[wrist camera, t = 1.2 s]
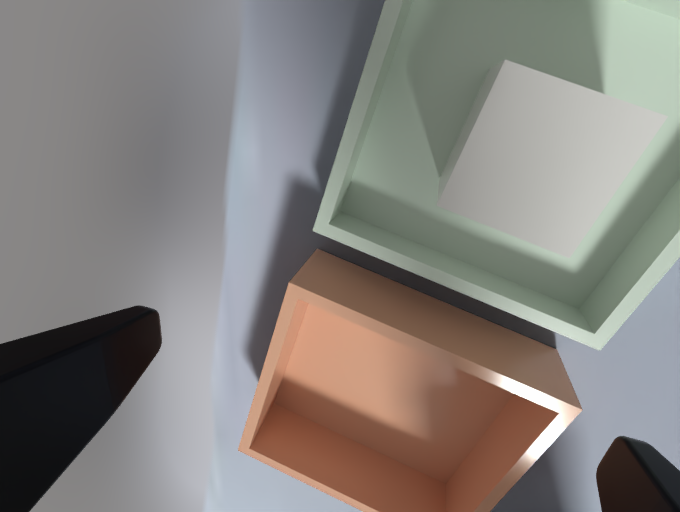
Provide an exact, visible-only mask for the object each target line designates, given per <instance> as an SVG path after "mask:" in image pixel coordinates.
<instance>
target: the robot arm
mask: <svg viewBox="0 0 680 512" xmlns="http://www.w3.org/2000/svg"><path fill="white" fill-rule="evenodd" d="M161 344H162V336H161V326H160V318H159V313H158V312H157V311H156V310H155V309H152V308H148V307H145V306H134V307H131V308H127V309H123V310H120V311H116V312H112V313H109V314H106V315H102V316H98V317H95V318H91V319H88V320H84V321H80V322H77V323H73V324H70V325H66V326H63V327H59V328H56V329H52V330H48V331H45V332H41V333H38V334H35V335H31V336H27V337H24V338H20V339H17V340H13V341H9V342H6V343H3V344H0V512H29V511H30V510H31V509H32V508H33V507H34V506H35V505H36V503H37V502H38V501H39V500H40V498H42V497H43V495H44V494H45V493H46V492H47V491H48V489H49V488H50V487H51V486H52V485H53V484H54V483H55V481H56V480H57V479H58V478H59V477H60V476H61V474H62V473H63V472H64V471H65V470H66V469H67V467H68V466H69V465H70V464H71V463H72V462H73V460H74V459H75V458H76V457H77V456H78V455H79V454H80V452H81V451H82V450H83V449H84V448H85V447H86V445H87V444H88V443H89V442H90V441H91V440H92V438H93V437H94V436H95V435H96V434H97V433H98V431H99V430H100V429H101V428H102V427H103V426H104V425H105V423H106V422H107V421H108V420H109V419H110V417H111V416H112V415H113V414H114V412H115V411H116V410H117V409H118V407H119V406H120V405H121V403H122V402H123V400H124V399H125V398H126V396H127V395H128V394H129V392H130V391H131V389H132V388H133V387H134V385H135V384H136V382H137V381H138V380H139V378H140V377H141V375H142V374H143V373H144V371H145V370H146V368H147V367H148V366H149V364H150V363H151V361H152V360H153V358H154V357H155V356H156V354H157V353H158V351H159V349H160V347H161ZM596 479H597V486H598V492H599V497H600V503H601V509H602V512H680V471H679V470H678V469H677V468H676V467H675V466H674V465H673V464H671V463H670V462H669V461H668V460H667V459H666V458H665V457H664V456H662V455H661V454H660V453H659V452H658V451H657V450H656V449H655V448H653V447H652V446H651V445H650V444H648V443H646V442H644V441H640V440H637V439H633V438H629V437H625V436H619V437H617V438H616V439H615V440H614V441H613V443H612V444H611V446H610V447H609V449H608V451H607V452H606V454H605V455H604V457H603V459H602V460H601V462H600V463H599V465H598V468H597V473H596Z"/></svg>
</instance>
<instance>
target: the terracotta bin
mask: <svg viewBox="0 0 680 512" xmlns="http://www.w3.org/2000/svg"><path fill="white" fill-rule="evenodd" d="M581 411H582V407H581V405H580V403H579V400H578V398H577V396H576V393H575V391H574V389H573V386H572V384H571V382H570V379H569V377H568V375H567V372H566V370H565V368H564V365H563V363H562V361H561V358H560V356H559V353H558V351H557V349H554V348H552V347H550V346H547V345H545V344H543V343H540V342H538V341H535V340H533V339H531V338H528V337H526V336H524V335H521V334H519V333H516V332H514V331H512V330H509V329H507V328H505V327H502V326H500V325H497V324H495V323H493V322H490V321H488V320H486V319H483V318H481V317H479V316H476V315H474V314H471V313H469V312H467V311H464V310H462V309H460V308H457V307H455V306H452V305H450V304H448V303H445V302H443V301H441V300H438V299H436V298H433V297H431V296H429V295H426V294H424V293H422V292H419V291H417V290H414V289H412V288H410V287H407V286H405V285H403V284H400V283H398V282H395V281H393V280H391V279H388V278H386V277H384V276H381V275H379V274H377V273H374V272H372V271H369V270H367V269H365V268H362V267H360V266H358V265H355V264H353V263H350V262H348V261H346V260H343V259H341V258H339V257H336V256H334V255H331V254H329V253H327V252H324V251H322V250H320V249H316V251H315V252H314V253H313V254H312V255H311V256H310V258H309V259H308V260H307V261H306V262H305V264H304V265H303V266H302V267H301V268H300V270H299V271H298V272H297V273H296V274H295V275H294V277H293V278H292V279H291V280H290V281H289V283H288V287H287V290H286V293H285V296H284V300H283V303H282V306H281V310H280V313H279V316H278V320H277V323H276V326H275V329H274V333H273V336H272V339H271V343H270V346H269V349H268V352H267V356H266V359H265V362H264V366H263V369H262V372H261V376H260V379H259V382H258V385H257V389H256V392H255V395H254V399H253V402H252V405H251V408H250V412H249V415H248V418H247V422H246V425H245V428H244V432H243V435H242V438H241V441H240V445H239V448H238V451H240V452H242V453H244V454H246V455H249V456H251V457H253V458H255V459H257V460H259V461H261V462H263V463H265V464H267V465H269V466H271V467H273V468H275V469H277V470H279V471H281V472H283V473H285V474H287V475H289V476H291V477H294V478H296V479H298V480H300V481H302V482H304V483H306V484H308V485H310V486H312V487H314V488H316V489H318V490H320V491H322V492H324V493H326V494H328V495H330V496H332V497H334V498H337V499H339V500H341V501H343V502H345V503H347V504H349V505H351V506H353V507H355V508H357V509H359V510H361V511H363V512H490V511H491V510H492V509H493V508H494V507H495V505H496V504H497V503H498V502H499V501H500V500H501V499H502V498H503V497H504V496H505V495H506V493H507V492H508V491H509V490H510V489H511V488H512V487H513V486H514V485H515V484H516V482H517V481H518V480H519V479H520V478H521V477H522V476H523V475H524V474H525V473H526V471H527V470H528V469H529V468H530V467H531V466H532V465H533V464H534V463H535V462H536V460H537V459H538V458H539V457H540V456H541V455H542V454H543V453H544V452H545V451H546V449H547V448H548V447H549V446H550V445H551V444H552V443H553V442H554V441H555V440H556V438H557V437H558V436H559V435H560V434H561V433H562V432H563V431H564V430H565V429H566V428H567V426H568V425H569V424H570V423H571V422H572V421H573V420H574V419H575V418H576V417H577V415H578V414H579V413H580V412H581Z"/></svg>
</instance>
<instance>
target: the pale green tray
mask: <svg viewBox="0 0 680 512" xmlns="http://www.w3.org/2000/svg"><path fill="white" fill-rule="evenodd" d="M505 59H506V60H509V61H512V62H514V63H517V64H520V65H523V66H526V67H529V68H532V69H534V70H537V71H540V72H543V73H546V74H549V75H551V76H554V77H557V78H560V79H563V80H566V81H569V82H571V83H574V84H577V85H580V86H583V87H586V88H589V89H591V90H594V91H597V92H600V93H603V94H606V95H609V96H611V97H614V98H617V99H620V100H623V101H626V102H629V103H631V104H634V105H637V106H640V107H643V108H646V109H648V110H651V111H654V112H657V113H660V114H663V115H666V116H668V117H667V119H666V120H665V122H664V123H663V125H662V126H661V127H660V129H659V130H658V132H657V133H656V135H655V136H654V138H653V139H652V140H651V142H650V143H649V145H648V146H647V148H646V149H645V151H644V152H643V153H642V155H641V156H640V158H639V159H638V161H637V162H636V163H635V165H634V166H633V168H632V169H631V171H630V172H629V174H628V175H627V176H626V178H625V179H624V181H623V182H622V184H621V185H620V187H619V188H618V189H617V191H616V192H615V194H614V195H613V197H612V198H611V199H610V201H609V202H608V204H607V205H606V207H605V208H604V210H603V211H602V212H601V214H600V215H599V217H598V218H597V220H596V221H595V223H594V224H593V225H592V227H591V228H590V230H589V231H588V233H587V234H586V235H585V237H584V238H583V240H582V241H581V243H580V244H579V246H578V247H577V248H576V250H575V251H574V253H573V254H572V256H571V257H570V258H567V257H565V256H562V255H560V254H557V253H555V252H552V251H550V250H547V249H545V248H542V247H540V246H537V245H534V244H532V243H529V242H527V241H524V240H522V239H519V238H517V237H514V236H512V235H509V234H507V233H504V232H502V231H499V230H497V229H494V228H492V227H489V226H487V225H484V224H481V223H479V222H476V221H474V220H471V219H469V218H466V217H464V216H461V215H459V214H456V213H454V212H451V211H449V210H446V209H444V208H441V207H439V206H437V196H438V186H439V178H440V176H441V173H442V171H443V169H444V167H445V165H446V163H447V160H448V158H449V156H450V154H451V152H452V149H453V147H454V145H455V143H456V141H457V138H458V136H459V134H460V132H461V130H462V127H463V125H464V123H465V121H466V119H467V116H468V114H469V112H470V110H471V108H472V106H473V103H474V101H475V99H476V97H477V95H478V92H479V90H480V88H481V86H482V84H483V81H484V79H485V77H486V75H487V73H488V70H489V69H490V68H491V67H493V66H495V65H496V64H498V63H500V62H502V61H503V60H505ZM313 231H314V232H316V233H319V234H321V235H323V236H326V237H328V238H331V239H333V240H335V241H338V242H340V243H343V244H345V245H347V246H350V247H352V248H355V249H357V250H359V251H362V252H364V253H367V254H369V255H371V256H374V257H376V258H379V259H381V260H383V261H386V262H388V263H391V264H393V265H395V266H398V267H400V268H403V269H405V270H407V271H410V272H412V273H414V274H417V275H419V276H422V277H424V278H426V279H429V280H431V281H434V282H436V283H438V284H441V285H443V286H446V287H448V288H450V289H453V290H455V291H458V292H460V293H462V294H465V295H467V296H470V297H472V298H474V299H477V300H479V301H482V302H484V303H486V304H489V305H491V306H494V307H496V308H498V309H501V310H503V311H506V312H508V313H510V314H513V315H515V316H518V317H520V318H522V319H525V320H527V321H530V322H532V323H534V324H537V325H539V326H542V327H544V328H546V329H549V330H551V331H554V332H556V333H558V334H561V335H563V336H565V337H568V338H570V339H573V340H575V341H577V342H580V343H582V344H585V345H587V346H589V347H592V348H594V349H597V350H599V351H600V350H601V349H602V348H603V347H604V345H605V344H606V343H607V342H608V341H609V340H610V338H611V337H612V336H613V335H614V334H615V333H616V331H617V330H618V329H619V328H620V327H621V325H622V324H623V323H624V322H625V321H626V320H627V318H628V317H629V316H630V315H631V314H632V313H633V311H634V310H635V309H636V308H637V307H638V305H639V304H640V303H641V302H642V301H643V300H644V298H645V297H646V296H647V295H648V294H649V293H650V291H651V290H652V289H653V288H654V287H655V286H656V284H657V283H658V282H659V281H660V280H661V278H662V277H663V276H664V275H665V274H666V273H667V271H668V270H669V269H670V268H671V267H672V266H673V264H674V263H675V262H676V261H677V260H678V258H679V257H680V0H385V2H384V5H383V8H382V12H381V15H380V18H379V21H378V24H377V27H376V31H375V34H374V37H373V40H372V43H371V46H370V50H369V53H368V56H367V59H366V62H365V66H364V69H363V72H362V75H361V78H360V81H359V85H358V88H357V91H356V94H355V97H354V101H353V104H352V107H351V110H350V113H349V116H348V120H347V123H346V126H345V129H344V132H343V135H342V139H341V142H340V145H339V148H338V151H337V155H336V158H335V161H334V164H333V167H332V170H331V174H330V177H329V180H328V183H327V186H326V190H325V193H324V196H323V199H322V202H321V205H320V209H319V212H318V215H317V218H316V221H315V224H314V228H313Z"/></svg>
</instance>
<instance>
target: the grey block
mask: <svg viewBox="0 0 680 512" xmlns="http://www.w3.org/2000/svg"><path fill="white" fill-rule="evenodd" d="M667 117H668V116H666V115H663V114H660V113H657V112H654V111H651V110H648V109H646V108H643V107H640V106H637V105H634V104H631V103H629V102H626V101H623V100H620V99H617V98H614V97H611V96H609V95H606V94H603V93H600V92H597V91H594V90H591V89H589V88H586V87H583V86H580V85H577V84H574V83H571V82H569V81H566V80H563V79H560V78H557V77H554V76H551V75H549V74H546V73H543V72H540V71H537V70H534V69H532V68H529V67H526V66H523V65H520V64H517V63H514V62H512V61H509V60H506V59H505V60H503V61H502V62H500V63H498V64H496V65H495V66H493V67H491V68H490V69H489V70H488V73H487V75H486V77H485V79H484V81H483V84H482V86H481V88H480V90H479V92H478V95H477V97H476V99H475V101H474V103H473V106H472V108H471V110H470V112H469V114H468V116H467V119H466V121H465V123H464V125H463V127H462V130H461V132H460V134H459V136H458V138H457V141H456V143H455V145H454V147H453V149H452V152H451V154H450V156H449V158H448V160H447V163H446V165H445V167H444V169H443V171H442V173H441V176H440V178H439V186H438V196H437V206H439V207H441V208H444V209H446V210H449V211H451V212H454V213H456V214H459V215H461V216H464V217H466V218H469V219H471V220H474V221H476V222H479V223H481V224H484V225H487V226H489V227H492V228H494V229H497V230H499V231H502V232H504V233H507V234H509V235H512V236H514V237H517V238H519V239H522V240H524V241H527V242H529V243H532V244H534V245H537V246H540V247H542V248H545V249H547V250H550V251H552V252H555V253H557V254H560V255H562V256H565V257H567V258H570V257H571V256H572V254H573V253H574V251H575V250H576V248H577V247H578V246H579V244H580V243H581V241H582V240H583V238H584V237H585V235H586V234H587V233H588V231H589V230H590V228H591V227H592V225H593V224H594V223H595V221H596V220H597V218H598V217H599V215H600V214H601V212H602V211H603V210H604V208H605V207H606V205H607V204H608V202H609V201H610V199H611V198H612V197H613V195H614V194H615V192H616V191H617V189H618V188H619V187H620V185H621V184H622V182H623V181H624V179H625V178H626V176H627V175H628V174H629V172H630V171H631V169H632V168H633V166H634V165H635V163H636V162H637V161H638V159H639V158H640V156H641V155H642V153H643V152H644V151H645V149H646V148H647V146H648V145H649V143H650V142H651V140H652V139H653V138H654V136H655V135H656V133H657V132H658V130H659V129H660V127H661V126H662V125H663V123H664V122H665V120H666V119H667Z"/></svg>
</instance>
